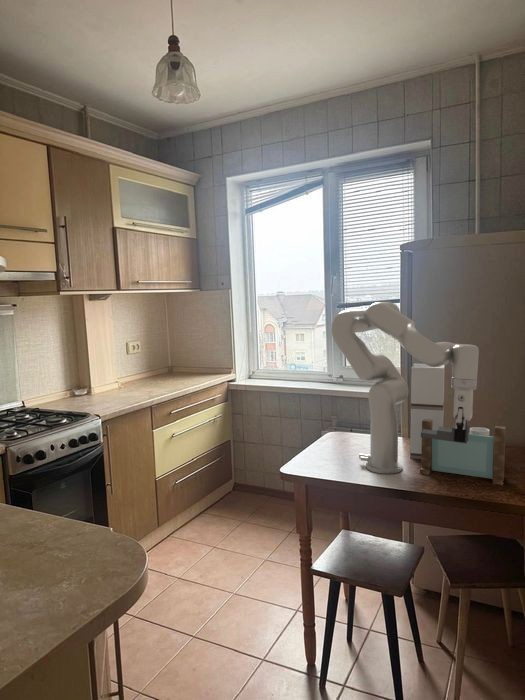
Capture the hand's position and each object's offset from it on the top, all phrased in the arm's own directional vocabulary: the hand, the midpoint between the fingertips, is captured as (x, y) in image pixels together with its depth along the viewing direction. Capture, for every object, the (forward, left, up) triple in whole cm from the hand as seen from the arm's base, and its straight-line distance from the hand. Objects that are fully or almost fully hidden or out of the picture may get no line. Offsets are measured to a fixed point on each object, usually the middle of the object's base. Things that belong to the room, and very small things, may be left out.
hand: (460, 438), depth 160 cm
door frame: (-1, +10, -15) cm, 18 cm away
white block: (-15, +28, -16) cm, 35 cm away
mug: (+4, +31, -16) cm, 35 cm away
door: (-1, +10, -15) cm, 18 cm away
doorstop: (-5, 0, 0) cm, 5 cm away
